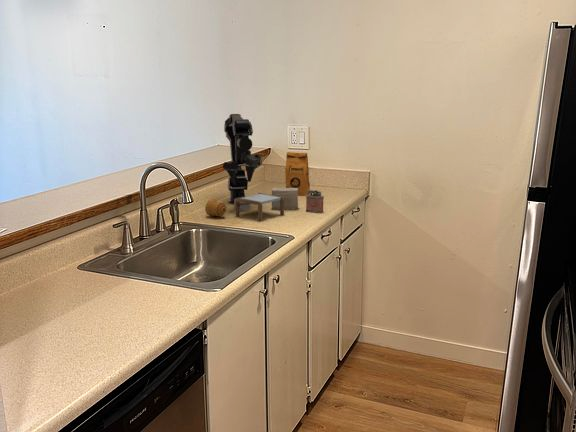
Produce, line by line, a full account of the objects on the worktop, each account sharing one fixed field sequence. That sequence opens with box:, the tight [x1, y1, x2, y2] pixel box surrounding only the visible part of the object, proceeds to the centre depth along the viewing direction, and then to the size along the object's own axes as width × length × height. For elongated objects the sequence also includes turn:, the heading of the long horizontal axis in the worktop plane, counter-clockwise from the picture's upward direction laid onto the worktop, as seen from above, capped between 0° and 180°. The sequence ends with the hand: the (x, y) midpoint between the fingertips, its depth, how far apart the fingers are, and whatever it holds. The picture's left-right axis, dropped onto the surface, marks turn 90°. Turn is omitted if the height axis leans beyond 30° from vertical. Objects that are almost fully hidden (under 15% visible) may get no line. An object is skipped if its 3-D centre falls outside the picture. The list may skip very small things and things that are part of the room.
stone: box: [233, 197, 251, 212], centre depth 257 cm, size 5×5×5 cm
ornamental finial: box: [204, 198, 227, 218], centre depth 242 cm, size 8×8×8 cm
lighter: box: [305, 189, 325, 214], centre depth 252 cm, size 8×3×10 cm, turn 71°
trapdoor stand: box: [235, 192, 285, 223], centre depth 245 cm, size 15×14×8 cm
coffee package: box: [284, 151, 311, 197], centre depth 286 cm, size 10×12×22 cm
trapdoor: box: [242, 193, 281, 205], centre depth 244 cm, size 12×12×1 cm
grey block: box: [271, 187, 299, 210], centre depth 257 cm, size 12×4×10 cm, turn 89°
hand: (242, 183), depth 255 cm, fingers open, 9 cm apart
